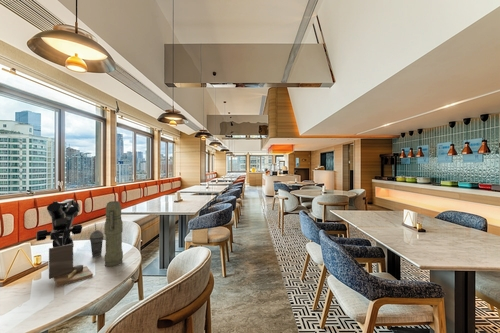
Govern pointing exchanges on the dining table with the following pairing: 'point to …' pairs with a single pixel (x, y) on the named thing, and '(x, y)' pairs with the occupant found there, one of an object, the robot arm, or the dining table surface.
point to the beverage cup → (96, 242)
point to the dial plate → (73, 277)
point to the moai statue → (113, 234)
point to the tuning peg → (62, 261)
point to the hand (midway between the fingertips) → (62, 245)
